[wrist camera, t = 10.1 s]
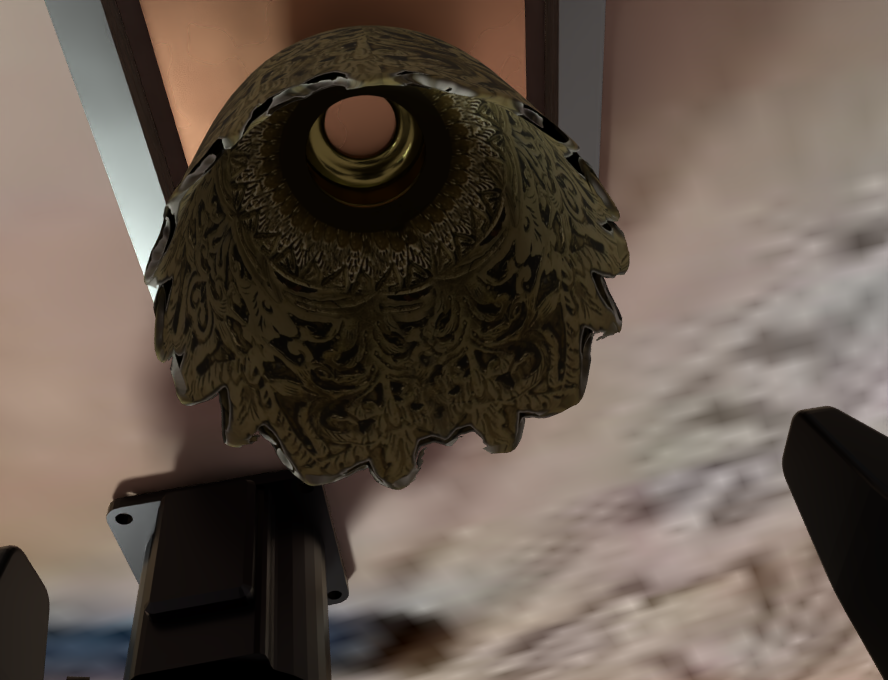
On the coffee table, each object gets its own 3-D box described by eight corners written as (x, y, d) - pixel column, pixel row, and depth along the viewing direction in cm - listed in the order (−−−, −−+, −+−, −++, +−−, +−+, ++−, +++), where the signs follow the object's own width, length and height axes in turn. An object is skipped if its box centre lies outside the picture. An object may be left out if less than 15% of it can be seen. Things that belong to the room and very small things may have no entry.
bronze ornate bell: (482, -98, 16) (605, 11, 10) (542, 212, 21) (653, 421, 15) (131, 10, 17) (38, 183, 10) (265, 294, 21) (258, 535, 15)
